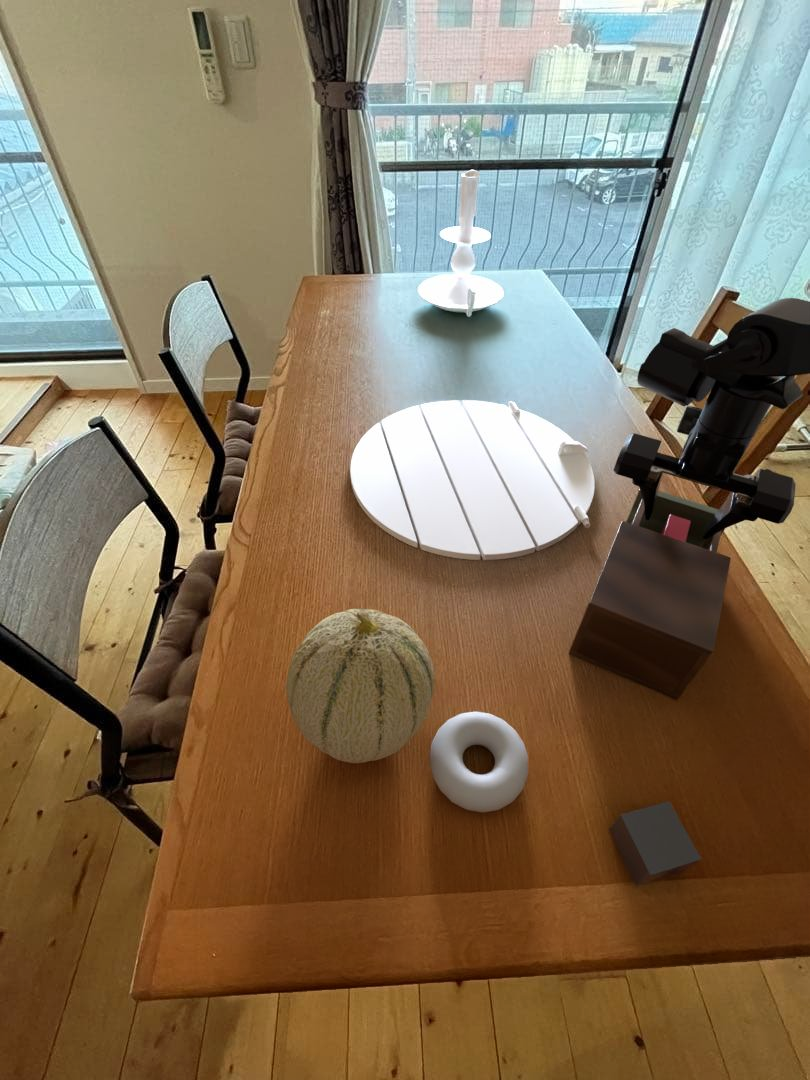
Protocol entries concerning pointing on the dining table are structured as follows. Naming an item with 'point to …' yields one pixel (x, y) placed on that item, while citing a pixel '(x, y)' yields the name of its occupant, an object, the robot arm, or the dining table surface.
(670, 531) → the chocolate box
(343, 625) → the cantaloupe
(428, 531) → the lazy susan
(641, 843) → the stand
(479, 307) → the candlestick
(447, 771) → the donut
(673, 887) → the dining table surface
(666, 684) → the cabinet
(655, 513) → the drawer
